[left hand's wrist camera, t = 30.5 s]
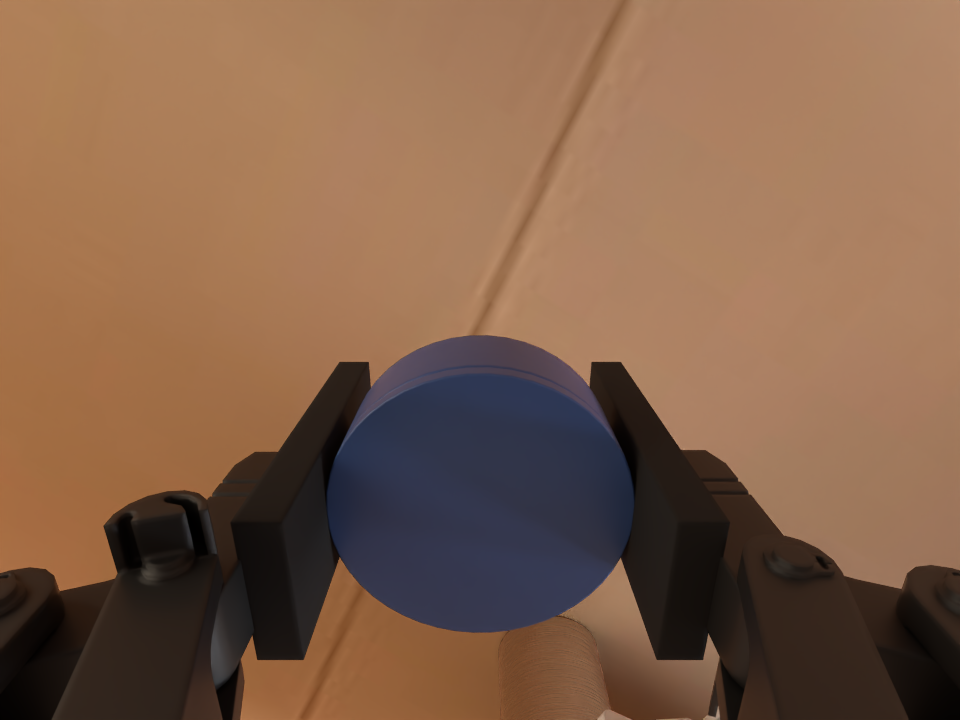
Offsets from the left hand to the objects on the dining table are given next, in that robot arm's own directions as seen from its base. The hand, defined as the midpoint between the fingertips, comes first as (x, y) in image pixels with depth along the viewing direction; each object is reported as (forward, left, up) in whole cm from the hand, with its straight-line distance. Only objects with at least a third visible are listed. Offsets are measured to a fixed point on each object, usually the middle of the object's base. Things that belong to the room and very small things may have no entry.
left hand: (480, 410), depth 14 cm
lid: (0, 0, +4) cm, 4 cm away
